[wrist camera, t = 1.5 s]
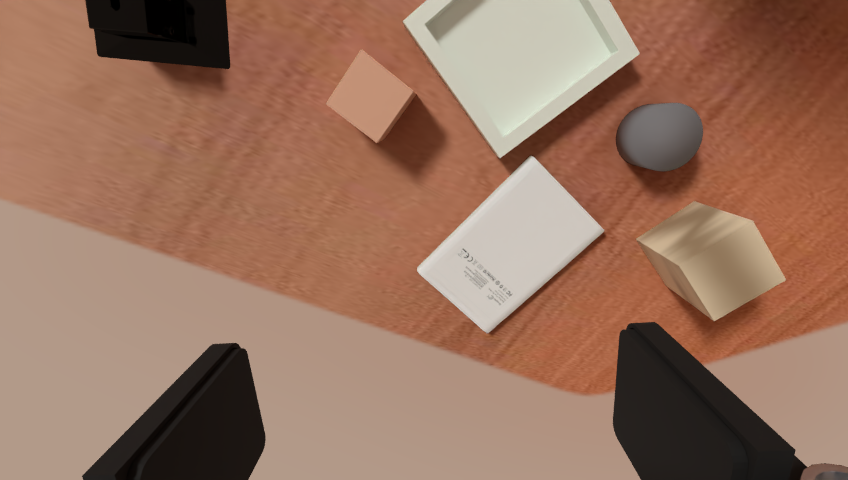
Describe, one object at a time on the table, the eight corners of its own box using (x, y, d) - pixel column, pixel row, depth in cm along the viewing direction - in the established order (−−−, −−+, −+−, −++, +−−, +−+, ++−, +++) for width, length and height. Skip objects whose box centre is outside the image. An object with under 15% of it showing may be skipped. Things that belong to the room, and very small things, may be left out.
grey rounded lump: (658, 91, 29) (683, 88, 26) (687, 141, 30) (714, 144, 27) (604, 130, 30) (622, 131, 27) (634, 177, 31) (654, 184, 28)
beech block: (693, 201, 31) (752, 220, 25) (723, 250, 32) (785, 279, 26) (635, 238, 32) (679, 265, 26) (665, 285, 33) (714, 321, 27)
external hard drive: (598, 226, 32) (485, 326, 35) (528, 154, 31) (416, 265, 34) (606, 231, 31) (488, 336, 34) (533, 156, 29) (416, 272, 32)
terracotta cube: (371, 58, 29) (361, 49, 25) (416, 94, 29) (413, 91, 25) (339, 105, 30) (325, 103, 26) (384, 139, 30) (376, 143, 26)
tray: (540, -92, 26) (547, -107, 24) (627, 57, 28) (639, 53, 26) (404, 27, 28) (402, 21, 26) (496, 155, 30) (499, 158, 29)
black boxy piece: (248, -29, 28) (213, -56, 23) (252, 85, 30) (221, 80, 25) (67, -45, 28) (-2, -75, 23) (84, 70, 30) (24, 62, 25)
